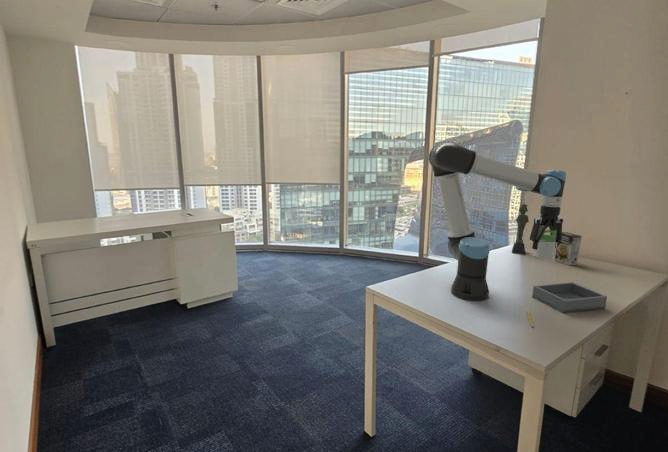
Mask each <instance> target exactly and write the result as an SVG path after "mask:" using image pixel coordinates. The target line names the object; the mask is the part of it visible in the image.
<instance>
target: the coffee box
mask: <svg viewBox="0 0 668 452" xmlns="http://www.w3.org/2000/svg"><path fill="white" fill-rule="evenodd" d="M582 238H583V237H582V236H581V235H579V234H576V233H575V234H574V233H572V232H563V231H562V239H561V240H559V242H557V244H556V248H555V250H556V251H555V254H554V261H555V262H558V263H561V264H563V265H567V266H574V265H575V266H576V265H577V264H578V259H579V253H580V248H581V241H582Z"/></svg>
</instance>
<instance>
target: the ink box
mask: <svg viewBox="0 0 668 452" xmlns="http://www.w3.org/2000/svg"><path fill="white" fill-rule="evenodd" d="M547 233H549V234H547ZM550 233H553V235H551V234H550ZM556 233H557V231H552V230H550V229H549V230H547V229H545V231H544V233H543V235H542V237H541V239H540V240H539V243H540V248H539V254H538V257H535V256H533V255H532V257H533V258H534V259H536V260H553V258H554V256H553V253H554V254H555V251H554V246H555V240H556Z"/></svg>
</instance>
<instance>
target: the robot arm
mask: <svg viewBox="0 0 668 452" xmlns="http://www.w3.org/2000/svg"><path fill="white" fill-rule="evenodd" d="M428 162H429V164H430V166H431V168H432V171H433V176H434V178H436V179H437V180H438V182H439V187H440V191H441V197H442V201H443V207H444V210H445V214H446V219H447V224H448V227H449V231H448V232H447V234H446V235H447V248H448V252H449V253H450V254H451V256H452V257H453V258H454V259H456V261H457V270H456V276H455V278H454V281H453V283H452V285H451V288H450V290H451V292H450V293H452V295H453V296H455V297H457V298H459V299H463V300H468V301H484V300H487V299H488V298H489V294H490V291H489V285H488V283H487V282H488V281H487V272H488V271H487V270H488V264H489V263H488V261H489V255H490V245H489V243H488V242H487V241H486V240H484V239H481V238H478V237H476V235H475V230H474V228H472V227H470V223H469V218H468V214H467V213H468V212H467V207H466V204H465V199H464V194H463V190H462V184H461V180H460V174H463V175H470V174H472V175H476V176H478V177H482V178H485V179H489V180H492V181H495V182H499V183H502V184H505V185H509V186H512V187H514V188H515V189H516V190H517V191H520V192H531V193H535V194H539V195H542V197H541V206H540V211H539V213H540V217H539V218H533V225H532V229H531V232H530V236H529V241H531V242H532V255H531V256H532V257H533V256H535V257H538V254H539V248H540V243H539V240H540V239H541V237H542V235H543V233H544V231H545V230H547V229H548V228H549V230H552V231H557V233H556V240H555V246H554V253H553V257H555V252H556V251H555V250H556V249H557V242H559V240H561V239H562V232H563V223H564V219H563V218H561V217H559V216H560V214H561V209H562V208H561V206H562V202H563V195H564V189H565V184H566V178H567V177H566V176H567V172H566V170H565V171H564V170H561V169H560V170H559V169H547V170H546V172H545V173H538V172H535V171H533V170H532V171H531V170H529V169H525V168H522V167H520V166H519V167H518V166H515V165H513V164H509V163H505V162H502V161H500V160H499V161H498V160H496V159H492V158H490V157H486V156H482V155H479V154H478V153H477V151H475V150H471V149H469V148H466V147H464V146H463V145H460V144H458V143H455V142H448V141H447V142H445V141H444V142H440V143H436V144H435V145H434V146H433V147H432V148H431V149H430V150H429V153H428ZM544 234H545V233H544ZM549 235H553V233H549Z"/></svg>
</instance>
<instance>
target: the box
mask: <svg viewBox="0 0 668 452" xmlns="http://www.w3.org/2000/svg"><path fill="white" fill-rule="evenodd" d="M532 288H533V289H532V294H531V295H532V297H531V298H533V299H534V300H537V301H539V302H541V303H543V304H544V305H547V306H548V307H550V308H552V309H554V310H556V311H558V312H560V313H562V314H568V313H578V312H585V311H587V312H588V311H595V310H596V311H597V310H604V309H606V305H607V299H608V296H606V295H605V294H601V293H600V292H597V291H594V290H593V289H590V288H588V287H585V286H582V285H579V284H578V283H575V282H572V281H571V282H561V283H551V284H550V283H549V284H543V285H540V284H539V285H533V287H532Z"/></svg>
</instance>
